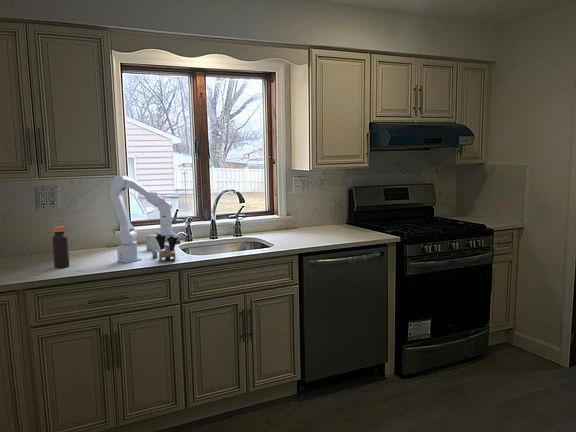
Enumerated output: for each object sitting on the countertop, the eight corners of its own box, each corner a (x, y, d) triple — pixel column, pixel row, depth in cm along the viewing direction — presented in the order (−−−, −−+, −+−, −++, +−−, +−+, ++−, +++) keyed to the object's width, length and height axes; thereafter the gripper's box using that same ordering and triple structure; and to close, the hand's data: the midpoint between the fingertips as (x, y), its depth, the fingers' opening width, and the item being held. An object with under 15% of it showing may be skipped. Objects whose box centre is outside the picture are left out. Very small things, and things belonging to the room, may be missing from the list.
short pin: (154, 258, 249) (154, 251, 248) (151, 258, 250) (151, 250, 250) (158, 257, 251) (158, 250, 250) (155, 257, 252) (155, 250, 252)
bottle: (71, 265, 235) (69, 225, 233) (65, 268, 229) (63, 227, 226) (58, 265, 235) (55, 225, 233) (51, 268, 228) (48, 228, 226)
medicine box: (162, 249, 273) (162, 234, 272) (158, 251, 269) (157, 236, 268) (150, 248, 275) (149, 234, 274) (146, 250, 271) (145, 235, 270)
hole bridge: (175, 261, 241) (175, 253, 241) (159, 262, 239) (159, 253, 239) (175, 258, 250) (174, 249, 249) (159, 258, 248) (159, 250, 247)
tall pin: (167, 261, 243) (167, 245, 242) (164, 260, 244) (163, 245, 243) (171, 260, 245) (170, 244, 244) (167, 259, 247) (167, 244, 245)
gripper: (181, 224, 241) (182, 250, 243) (162, 222, 250) (164, 247, 251) (170, 225, 236) (171, 252, 237) (152, 223, 244) (153, 249, 246)
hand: (167, 250), depth 244 cm, fingers open, 7 cm apart
